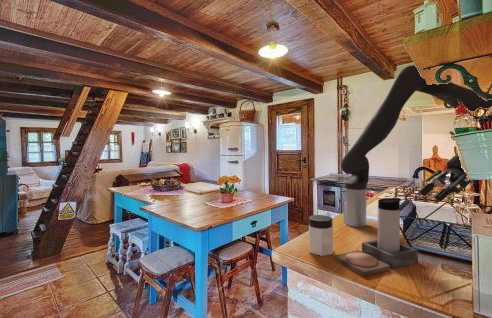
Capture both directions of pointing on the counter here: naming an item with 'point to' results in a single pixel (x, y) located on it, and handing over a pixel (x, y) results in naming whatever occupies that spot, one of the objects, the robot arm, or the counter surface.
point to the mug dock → (377, 259)
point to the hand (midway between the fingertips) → (428, 196)
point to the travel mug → (389, 224)
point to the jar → (320, 235)
